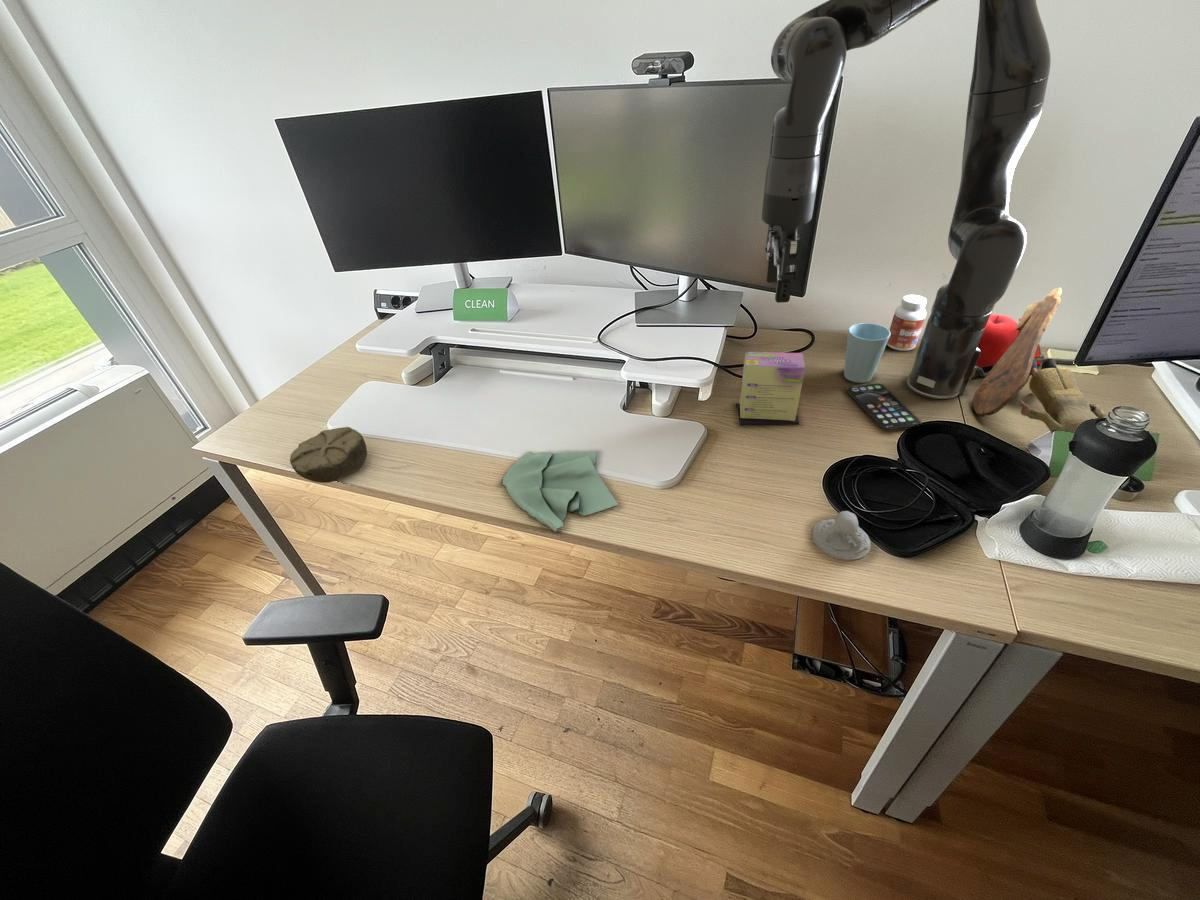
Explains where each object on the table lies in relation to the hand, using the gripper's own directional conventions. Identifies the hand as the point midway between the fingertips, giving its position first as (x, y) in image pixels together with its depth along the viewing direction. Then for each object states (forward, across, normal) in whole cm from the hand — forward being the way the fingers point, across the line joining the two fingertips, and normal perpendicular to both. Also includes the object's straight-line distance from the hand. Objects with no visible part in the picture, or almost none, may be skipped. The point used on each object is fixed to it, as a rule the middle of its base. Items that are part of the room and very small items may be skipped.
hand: (777, 291), depth 89 cm
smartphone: (+25, 0, +23) cm, 34 cm away
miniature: (+25, +34, +6) cm, 42 cm away
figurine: (+20, -4, +51) cm, 55 cm away
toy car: (+19, -14, +56) cm, 61 cm away
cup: (+25, -12, +22) cm, 35 cm away
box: (+24, +1, +1) cm, 24 cm away
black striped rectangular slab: (+25, +1, +1) cm, 25 cm away
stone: (+17, +17, -82) cm, 86 cm away
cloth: (+25, +22, -38) cm, 50 cm away
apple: (+25, -15, +47) cm, 55 cm away
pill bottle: (+25, -25, +35) cm, 50 cm away
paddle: (+23, +4, +38) cm, 45 cm away
